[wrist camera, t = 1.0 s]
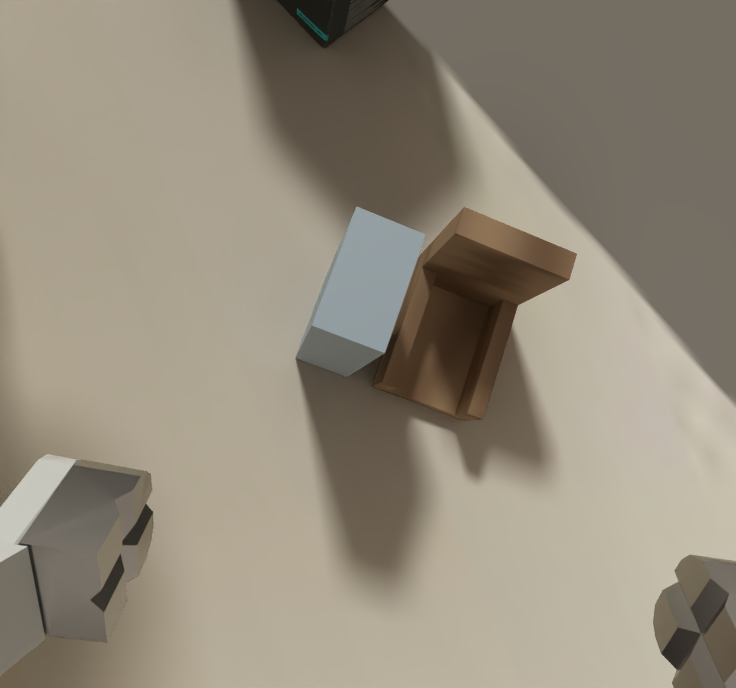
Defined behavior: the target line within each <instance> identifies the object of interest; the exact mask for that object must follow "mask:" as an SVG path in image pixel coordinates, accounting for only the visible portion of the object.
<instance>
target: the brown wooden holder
mask: <svg viewBox="0 0 736 688" xmlns="http://www.w3.org/2000/svg"><path fill="white" fill-rule="evenodd" d="M576 255H577V254H576V253H574V252H571V251H569V250H567V249H564V248H562V247H559V246H557V245H554V244H552V243H550V242H547V241H545V240H542V239H540V238H538V237H535V236H533V235H530V234H528V233H526V232H523V231H521V230H518V229H516V228H514V227H511V226H509V225H506V224H504V223H501V222H499V221H497V220H494V219H492V218H489V217H487V216H485V215H482V214H480V213H477V212H475V211H473V210H470V209H468V208H465V207H464V208H463V209H462V210H461V211H460V212H459V213H458V214H457V216H456V217H455V218H454V219H453V220H452V221H451V222H450V223H449V224H448V225H447V226H446V228H445V229H444V230H443V231H442V232H441V233H440V234H439V235H438V236H437V237H436V239H435V240H434V241H433V242H432V243H431V244H430V245H429V246H428V247H427V248H426V249H425V251H424V252H423V253H422V254H421V255H420V256H419V257H418V259H417V262H416V265H415V268H414V270H413V273H412V276H411V279H410V282H409V285H408V288H407V291H406V294H405V296H404V299H403V302H402V305H401V308H400V311H399V314H398V317H397V320H396V322H395V325H394V328H393V331H392V334H391V337H390V340H389V343H388V345H387V348H386V351H385V353H384V354H383V355H382V358H381V361H380V364H379V367H378V370H377V373H376V376H375V378H374V381H373V384H372V387H375V388H378V389H380V390H383V391H386V392H388V393H391V394H394V395H396V396H399V397H402V398H405V399H407V400H410V401H413V402H415V403H418V404H421V405H423V406H426V407H429V408H431V409H434V410H437V411H440V412H442V413H445V414H448V415H450V416H453V417H456V418H458V419H461V420H479V419H483V418H484V414H485V411H486V408H487V404H488V401H489V398H490V395H491V391H492V388H493V385H494V382H495V378H496V375H497V372H498V369H499V365H500V362H501V359H502V356H503V352H504V349H505V346H506V342H507V339H508V336H509V333H510V329H511V326H512V323H513V320H514V316H515V313H516V310H517V307H518V305H519V304H521V303H523V302H525V301H527V300H529V299H531V298H533V297H535V296H537V295H539V294H541V293H543V292H545V291H547V290H550V289H552V288H554V287H556V286H558V285H560V284H562V283H564V282H566V281H568V280H569V279H570V276H571V273H572V269H573V266H574V262H575V259H576Z"/></svg>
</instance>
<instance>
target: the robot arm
mask: <svg viewBox="0 0 736 688" xmlns="http://www.w3.org/2000/svg"><path fill="white" fill-rule="evenodd" d="M151 492H152V482H151V474H150V473H148V472H147V471H142V470H137V469H131V468H126V467H120V466H114V465H109V464H103V463H98V462H92V461H87V460H77V459H72V458H66V457H61V456H55V455H50V454H47V455H45V456H44V457H42V458H40V459H38V460H37V461H36V462H35V464H34V465H33V466H32V467H31V469H30V470H29V471H28V472H27V474H26V475H25V476H24V477H23V479H22V480H21V481H20V483H19V484H18V485H17V486H16V488H15V489H14V490H13V491H12V493H11V494H10V495H9V496H8V498H7V499H6V500H5V501H4V503H3V504H2V505H1V507H0V676H1V675H2V674H3V673H5V672H6V671H7V670H8V669H10V668H11V667H12V666H13V665H14V664H16V663H17V662H18V661H19V660H21V659H22V658H23V657H24V656H26V655H27V654H28V653H29V652H30V651H32V650H33V649H34V648H35V647H37V646H38V645H39V644H40V643H41V642H43V641H44V640H45V635H46V636H55V637H63V638H71V639H80V640H88V641H97V642H105V643H107V642H108V640H109V638H110V636H111V633H112V631H113V629H114V627H115V625H116V623H117V621H118V619H119V616H120V614H121V612H122V610H123V608H124V606H125V604H126V601H127V599H126V583H128V582H129V581H131V580H132V579H133V578H135V577H136V576H138V575H139V573H140V571H141V569H142V566H143V564H144V562H145V560H146V557H147V553H148V550H149V546H150V543H151V539H152V532H153V511H152V510H151V509H150V508H149V507H148V506H147V504H146V502H147V500H148V498H149V496H150V494H151ZM675 573H676V576H677V579H678V582H677V583H675V584H673V585H671V586H669V587H668V588H666V589H664V590H663V591H662V593H661V594H660V596H659V598H658V600H657V602H656V604H655V610H654V620H653V625H654V631H655V638H656V640H657V643H658V646H659V649H660V652H661V654H662V655H663V656H664V657H665V658H666V659H667V660H668V661H669V662H670V663H671V664H672V665H673V666H674V667H675V668H676V669H677V670H676V673H675V676H674V678H673V681H672V684H673V687H674V688H736V561H731V560H724V559H717V558H710V557H703V556H696V555H689V556H687V557H685V558H683V559H682V560H681V561H680V563H679V564H678V566H677V568H676V569H675Z"/></svg>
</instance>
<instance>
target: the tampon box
mask: <svg viewBox="0 0 736 688" xmlns="http://www.w3.org/2000/svg"><path fill="white" fill-rule="evenodd" d="M278 1H279V2H280V3H281V4H282V5H283V6H284V7H285V8H286V10H287V11H288V12H289V13H290V14H291V15H292V16H293V17H294V18H295V19H296V20H297V21H298V22H299V23H300V24H301V25H302V26H303V27H304V28H305V29H306V30H307V31H308V33H309V34H310V35H311V36H312V37H313V38H314V39H315V40H316V41H317V42H318V43H319V44H320V45H321V46H322V47H327V46H328V45H330V44H331V43H332V42H334V41H335V40H336V39H337V38H339V37H340V36H341V35H343V34H344V33H345V32H347V31H348V30H349V29H351V28H352V27H353V26H355V25H356V24H358V23H359V22H360V21H362V20H363V19H364V18H366V17H367V16H368V15H370V14H371V13H372V12H373V11H375V10H376V9H378V8H379V7H380V6H382V5H383V4H384V3H386V2H387V1H388V0H278Z"/></svg>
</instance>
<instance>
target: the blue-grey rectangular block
mask: <svg viewBox="0 0 736 688" xmlns="http://www.w3.org/2000/svg"><path fill="white" fill-rule="evenodd" d="M425 236H426V234H423V233H421V232H418V231H416V230H413V229H411V228H409V227H406V226H404V225H401V224H399V223H396V222H394V221H391V220H389V219H386V218H384V217H381V216H379V215H377V214H374V213H372V212H369V211H367V210H364V209H362V208H359V207H357V206H356V209H355V211H354V213H353V216H352V218H351V220H350V223H349V225H348V227H347V229H346V232H345V234H344V236H343V239H342V241H341V243H340V245H339V248H338V250H337V252H336V255H335V257H334V259H333V261H332V264H331V266H330V268H329V271H328V273H327V276H326V278H325V281H324V284H323V286H322V289H321V292H320V294H319V297H318V300H317V302H316V305H315V308H314V310H313V313H312V316H311V318H310V321H309V324H308V326H307V329H306V331H305V334H304V337H303V339H302V342H301V345H300V347H299V350H298V353H297V355H296V358H297V359H299V360H302V361H305V362H307V363H310V364H313V365H315V366H318V367H321V368H324V369H326V370H329V371H332V372H334V373H337V374H340V375H342V376H345V377H348V376H350V375H351V374H353V373H354V372H356V371H358V370H359V369H361V368H362V367H364V366H365V365H367V364H369V363H370V362H372V361H373V360H375V359H376V358H378V357H380V356H381V355H383V354H384V353H385V351H386V348H387V345H388V343H389V340H390V337H391V334H392V331H393V328H394V325H395V322H396V320H397V317H398V314H399V311H400V308H401V305H402V302H403V299H404V296H405V294H406V291H407V288H408V285H409V282H410V279H411V276H412V273H413V270H414V268H415V265H416V262H417V259H418V256H419V253H420V250H421V247H422V244H423V242H424V239H425Z"/></svg>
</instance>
